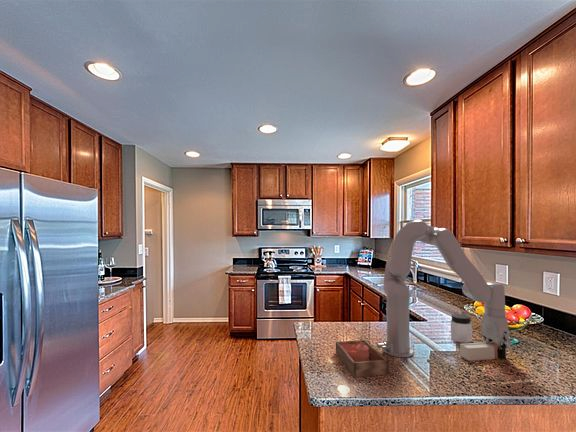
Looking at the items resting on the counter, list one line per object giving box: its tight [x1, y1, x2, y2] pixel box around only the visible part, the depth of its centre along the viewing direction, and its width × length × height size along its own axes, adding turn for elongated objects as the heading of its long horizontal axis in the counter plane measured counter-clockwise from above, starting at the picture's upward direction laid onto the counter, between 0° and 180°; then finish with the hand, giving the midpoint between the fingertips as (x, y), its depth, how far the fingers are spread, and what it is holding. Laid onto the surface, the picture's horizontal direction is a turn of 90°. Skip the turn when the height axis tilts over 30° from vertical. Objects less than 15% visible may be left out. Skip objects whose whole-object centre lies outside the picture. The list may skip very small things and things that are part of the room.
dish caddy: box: [335, 339, 389, 378], centre depth 128 cm, size 14×23×5 cm, turn 8°
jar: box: [450, 313, 473, 344], centre depth 153 cm, size 9×8×12 cm
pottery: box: [340, 342, 371, 362], centre depth 130 cm, size 18×10×10 cm, turn 8°
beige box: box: [459, 341, 496, 361], centre depth 132 cm, size 12×5×5 cm, turn 98°
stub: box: [485, 341, 507, 360], centre depth 133 cm, size 5×5×5 cm
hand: (496, 355), depth 133 cm, fingers closed on stub, 5 cm apart
